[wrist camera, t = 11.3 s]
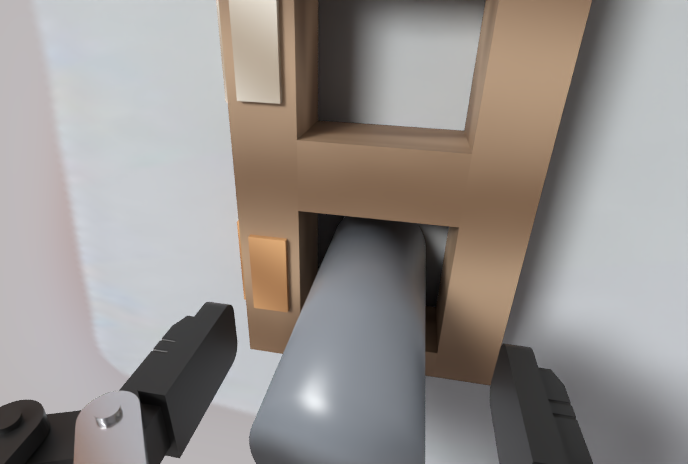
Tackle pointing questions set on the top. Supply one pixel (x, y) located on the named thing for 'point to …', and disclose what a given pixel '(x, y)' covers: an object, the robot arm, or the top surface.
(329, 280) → the plug
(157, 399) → the robot arm
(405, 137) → the socket block
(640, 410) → the top surface
